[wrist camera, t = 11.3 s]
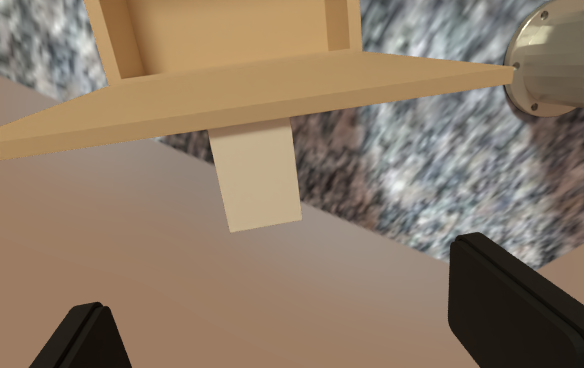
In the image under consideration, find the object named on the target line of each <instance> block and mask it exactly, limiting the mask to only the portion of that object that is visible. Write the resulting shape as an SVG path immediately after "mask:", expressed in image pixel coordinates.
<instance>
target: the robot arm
mask: <svg viewBox="0 0 584 368" xmlns="http://www.w3.org/2000/svg"><path fill="white" fill-rule="evenodd" d="M504 66H511V67H514V73H513V80H512V84H505V88H506V91H507V93H508V95H509V98H510V100H511V101H512V102H513V103H514V105H515V106H516V107H517V108H519V109H520V110H521V111H523V112H525V113H527V114H529V115H533V116H538V117H555V116H560V115H563V114H565V113H568V112H570V111H572V110H573V109H575V108H577V107H581V108H584V0H552V1H549V2H547V3H545V4H544V5H542V6H540V7H538V8H537V9H536V10H534V11H533V12H532V13H531V14H530V15H529V16H528V17H527V18H526V19H525V20H524V21H523V22H522V23H521V25H520V26H519V27H518V29H517V31H516V32H515V34H514V35H513V37H512V39H511V42H510V44H509V46H508V49H507V53H506V56H505V61H504ZM449 269H450V270H449V299H448V300H449V301H448V322H449V326H450V328H451V330H452V332H453V333H454V335H455V336H456V337H457V338H458V340H459V341H460V342H461V344H462V345H463V346H464V348H465V349H466V350H467V351H468V352H469V354H470V355H471V356H472V358H473V359H474V360H475V362H476V363H477V364H478V365H479V367H480V368H584V305H583V304H581V303H580V302H579V301H577V300H576V299H574V298H573V297H571V296H570V295H569V294H567V293H566V292H564V291H563V290H561V289H560V288H559V287H557V286H556V285H554V284H553V283H551V282H550V281H549V280H547V279H546V278H544V277H543V276H542V275H540V274H539V273H537V272H536V271H534V270H533V269H532V268H530V267H529V266H527V265H526V264H525V263H523V262H522V261H520V260H519V259H517V258H516V257H515V256H513V255H512V254H510V253H509V252H507V251H506V250H505V249H503V248H502V247H500V246H499V245H498V244H496V243H495V242H493V241H492V240H490V239H489V238H488V237H486V236H485V235H483V234H482V233H480V232H475V233H469V234H464V235H458V236H457V237H456V239H455V242H452V243H451V245H450V268H449ZM29 368H132V366H131V364H130V361H129V358H128V355H127V353H126V350H125V348H124V345H123V342H122V339H121V337H120V335H119V332H118V329H117V326H116V323H115V321H114V318H113V315H112V313H111V310H110V308H109V307H108V306H103V305H102V304H101V303H100V302H94V303H88V304H83V305H77V306H74V307H73V308H72V309H71V310H70V311H69V313H68V314H67V315H66V317H65V318H64V319H63V321H62V322H61V324H60V325H59V326H58V328H57V329H56V330H55V332H54V333H53V335H52V336H51V338H50V339H49V340H48V342H47V343H46V344H45V346H44V347H43V349H42V350H41V351H40V353H39V354H38V356H37V357H36V358H35V360H34V361H33V363H32V364H31V365H30V367H29Z"/></svg>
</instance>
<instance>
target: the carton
mask: <svg viewBox="0 0 584 368" xmlns="http://www.w3.org/2000/svg"><path fill="white" fill-rule="evenodd" d="M84 3H85V6H86V10H87V13H88V16H89V20H90V23H91V27H92V30H93V33H94V37H95V40H96V43H97V47H98V50H99V54H100V57H101V60H102V64H103V67H104V71H105V74H106V77H107V81H108V84H109V86H116V85H123V84H130V83H138V82H145V81H153V80H160V79H167V78H175V77H182V76H189V75H197V74H204V73H212V72H219V71H226V70H234V69H241V68H249V67H256V66H263V65H271V64H278V63H285V62H293V61H300V60H308V59H315V58H322V57H330V56H337V55H345V54H352V53H359V52H362V36H361V17H360V0H84Z"/></svg>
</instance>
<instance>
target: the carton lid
mask: <svg viewBox="0 0 584 368" xmlns="http://www.w3.org/2000/svg"><path fill="white" fill-rule="evenodd" d="M513 73H514V67H511V66H501V65H491V64H481V63H472V62H462V61H452V60H442V59H432V58H423V57H413V56H403V55H393V54H383V53H374V52H359V53H352V54H345V55H337V56H330V57H322V58H315V59H308V60H300V61H293V62H285V63H278V64H271V65H263V66H256V67H249V68H241V69H234V70H226V71H219V72H212V73H204V74H197V75H189V76H182V77H175V78H167V79H160V80H153V81H145V82H138V83H130V84H123V85H116V86H108V87H104V88H101V89H99V90H96V91H93V92H90V93H88V94H85V95H82V96H80V97H77V98H74V99H72V100H69V101H66V102H64V103H61V104H58V105H56V106H53V107H50V108H48V109H45V110H42V111H40V112H37V113H34V114H32V115H29V116H27V117H24V118H21V119H18V120H16V121H13V122H10V123H8V124H5V125H2V126H0V160H6V159H13V158H20V157H26V156H33V155H40V154H46V153H53V152H59V151H66V150H73V149H79V148H86V147H93V146H99V145H106V144H112V143H119V142H125V141H133V140H139V139H146V138H153V137H159V136H166V135H173V134H179V133H186V132H193V131H199V130H206V129H207V131H208V136H209V140H210V145H211V149H212V154H213V158H214V163H215V167H216V172H217V176H218V181H219V185H220V190H221V194H222V198H223V203H224V208H225V213H226V217H227V221H228V225H229V230H230V233H232V232H237V231H243V230H249V229H255V228H260V227H265V226H271V225H276V224H282V223H288V222H294V221H299V220H302V213H301V205H300V197H299V188H298V180H297V171H296V163H295V155H294V146H293V138H292V130H291V121H290V117H292V116H299V115H306V114H312V113H319V112H326V111H332V110H339V109H346V108H352V107H359V106H365V105H372V104H379V103H385V102H392V101H399V100H405V99H412V98H419V97H425V96H432V95H439V94H445V93H452V92H459V91H465V90H472V89H479V88H485V87H492V86H499V85H505V84H512V80H513Z"/></svg>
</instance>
